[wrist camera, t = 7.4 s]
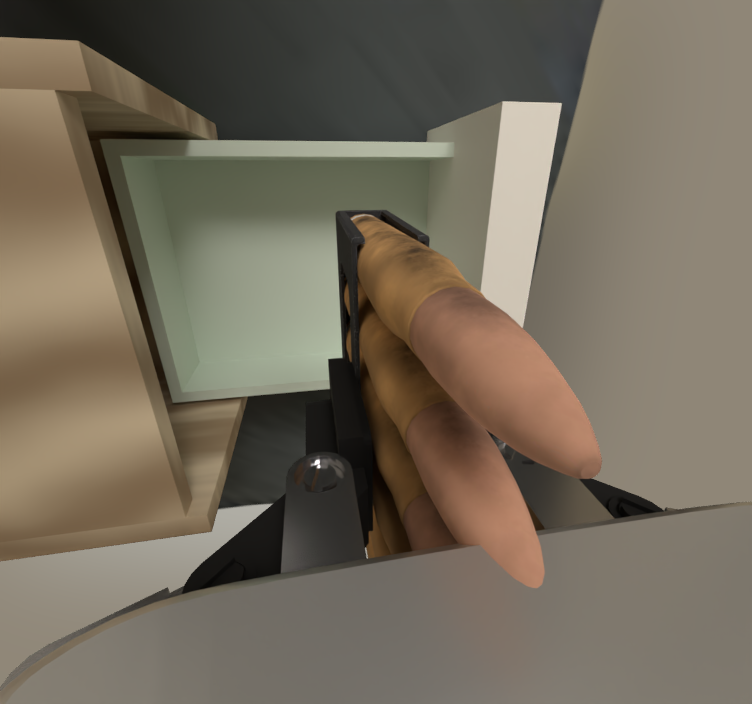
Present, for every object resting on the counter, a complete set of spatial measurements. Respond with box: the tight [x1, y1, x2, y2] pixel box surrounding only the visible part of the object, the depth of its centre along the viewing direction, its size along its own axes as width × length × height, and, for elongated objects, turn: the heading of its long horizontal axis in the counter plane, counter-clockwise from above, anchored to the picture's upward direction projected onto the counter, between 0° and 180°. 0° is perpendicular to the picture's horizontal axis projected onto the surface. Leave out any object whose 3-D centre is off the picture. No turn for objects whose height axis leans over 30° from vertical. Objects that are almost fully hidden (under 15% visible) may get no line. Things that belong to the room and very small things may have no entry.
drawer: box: [100, 102, 562, 403], centre depth 25 cm, size 19×24×12 cm
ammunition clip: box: [335, 210, 602, 588], centre depth 10 cm, size 11×2×12 cm, turn 0°
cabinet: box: [0, 37, 248, 561], centre depth 21 cm, size 20×22×18 cm
